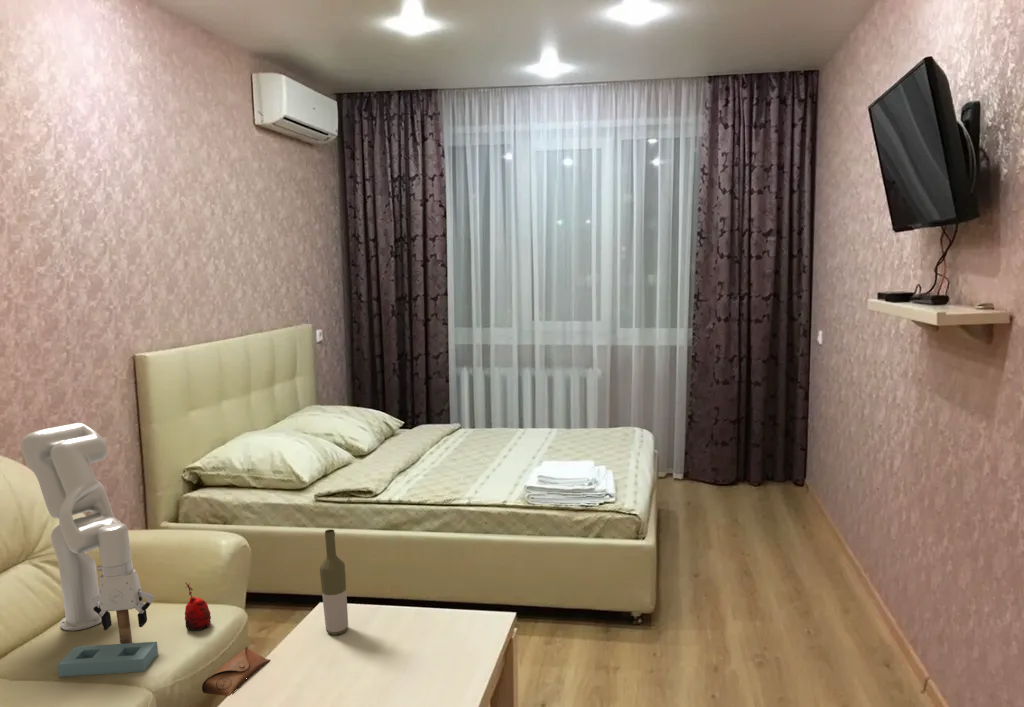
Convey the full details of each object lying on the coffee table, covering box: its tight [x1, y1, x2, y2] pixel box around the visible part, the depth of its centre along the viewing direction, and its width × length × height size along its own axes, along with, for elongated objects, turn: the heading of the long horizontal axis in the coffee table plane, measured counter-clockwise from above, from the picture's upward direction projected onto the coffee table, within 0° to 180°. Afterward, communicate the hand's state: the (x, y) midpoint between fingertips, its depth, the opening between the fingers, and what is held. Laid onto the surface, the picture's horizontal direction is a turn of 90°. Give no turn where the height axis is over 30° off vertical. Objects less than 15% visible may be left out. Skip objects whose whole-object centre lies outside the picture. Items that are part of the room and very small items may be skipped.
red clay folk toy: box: [184, 581, 212, 631], centre depth 225 cm, size 8×7×15 cm
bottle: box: [319, 528, 349, 636], centre depth 218 cm, size 7×7×30 cm
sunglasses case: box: [201, 646, 271, 697], centre depth 199 cm, size 18×7×7 cm
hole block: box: [57, 641, 159, 678], centre depth 206 cm, size 9×22×4 cm, turn 93°
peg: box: [116, 610, 133, 644], centre depth 216 cm, size 3×3×12 cm
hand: (125, 626), depth 215 cm, fingers open, 9 cm apart
